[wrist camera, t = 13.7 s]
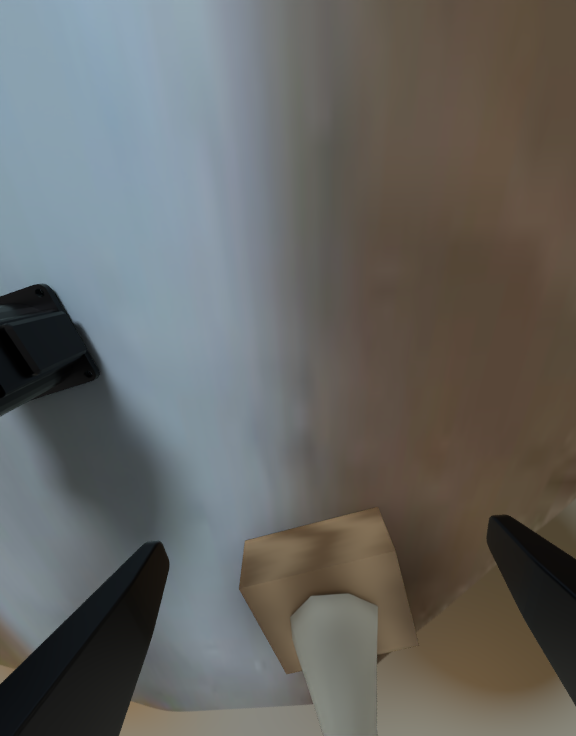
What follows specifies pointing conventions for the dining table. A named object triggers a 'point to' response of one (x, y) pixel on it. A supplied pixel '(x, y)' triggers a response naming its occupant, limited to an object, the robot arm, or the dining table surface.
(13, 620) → the dining table surface
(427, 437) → the dining table surface
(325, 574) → the light brown square board
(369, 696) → the flask
